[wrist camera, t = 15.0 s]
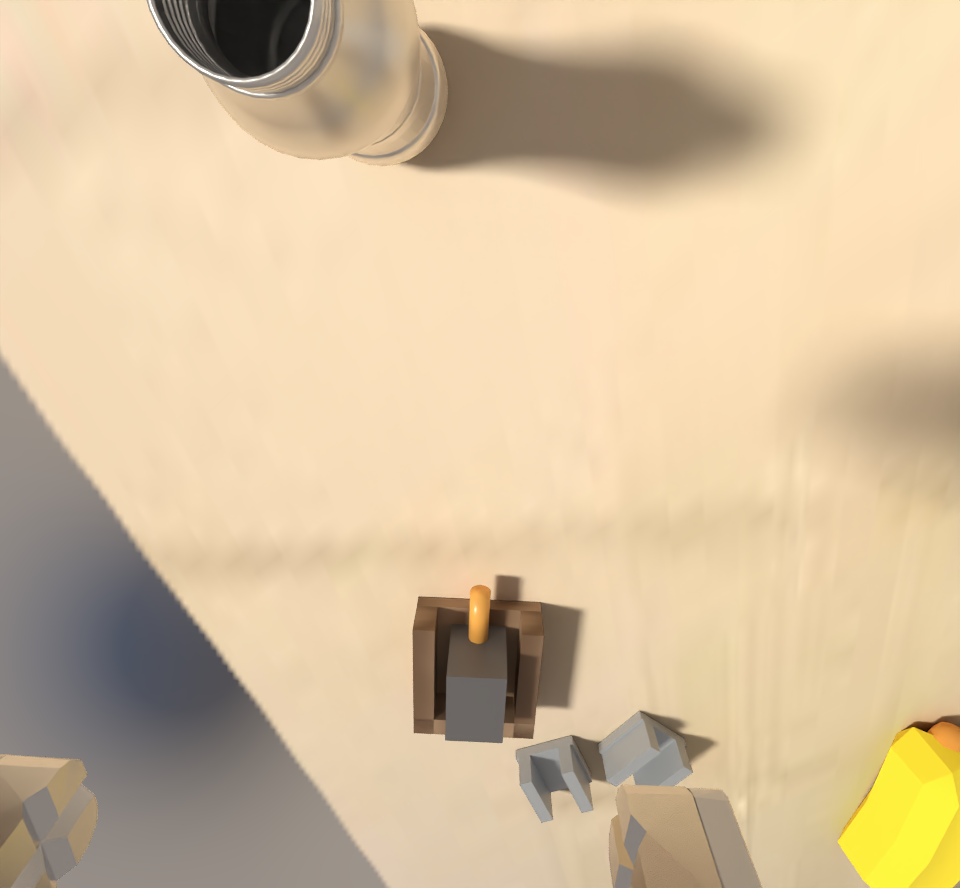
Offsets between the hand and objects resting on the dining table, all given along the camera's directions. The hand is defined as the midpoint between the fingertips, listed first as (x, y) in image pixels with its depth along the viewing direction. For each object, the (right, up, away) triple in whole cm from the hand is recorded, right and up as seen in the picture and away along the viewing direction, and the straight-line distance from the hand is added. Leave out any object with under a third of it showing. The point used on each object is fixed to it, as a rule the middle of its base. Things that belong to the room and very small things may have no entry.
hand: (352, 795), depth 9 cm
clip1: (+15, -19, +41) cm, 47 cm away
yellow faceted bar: (+38, -24, +42) cm, 62 cm away
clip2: (+8, -22, +42) cm, 48 cm away
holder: (+2, -11, +37) cm, 38 cm away
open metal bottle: (-3, +23, +22) cm, 32 cm away
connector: (+2, -9, +35) cm, 36 cm away
